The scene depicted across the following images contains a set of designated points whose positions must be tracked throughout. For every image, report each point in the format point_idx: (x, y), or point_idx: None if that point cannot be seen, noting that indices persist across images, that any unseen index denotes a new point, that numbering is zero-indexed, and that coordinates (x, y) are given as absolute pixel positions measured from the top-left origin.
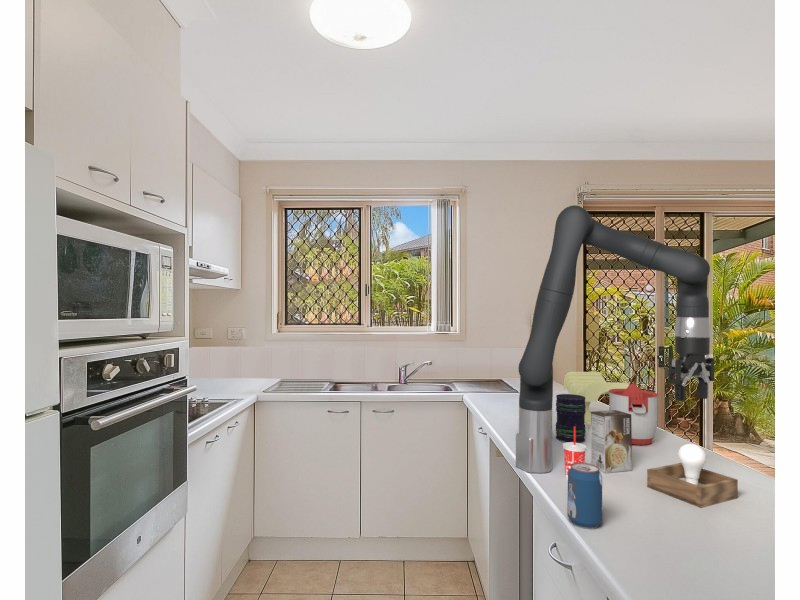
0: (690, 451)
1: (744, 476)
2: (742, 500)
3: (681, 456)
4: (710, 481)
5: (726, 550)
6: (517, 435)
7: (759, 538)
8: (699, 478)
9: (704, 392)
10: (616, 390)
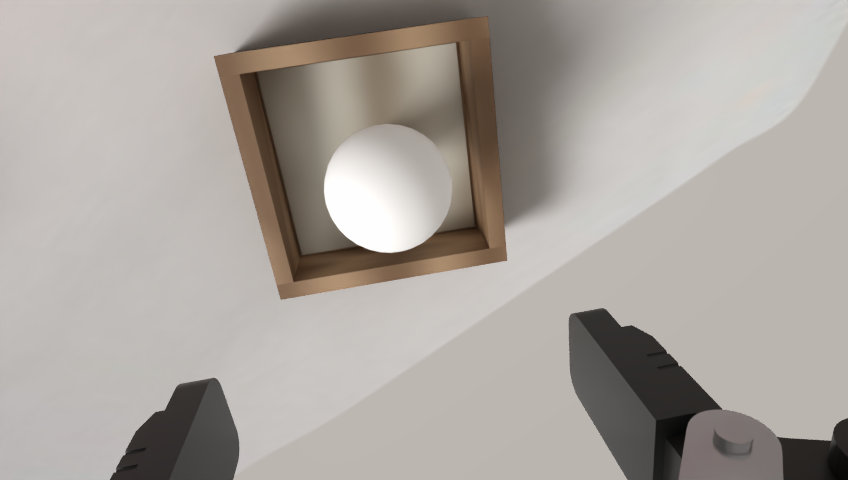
0: (345, 230)
1: (748, 66)
2: None
3: (324, 183)
4: (474, 161)
5: None
6: None
7: (285, 438)
8: (469, 113)
9: (601, 419)
10: None
